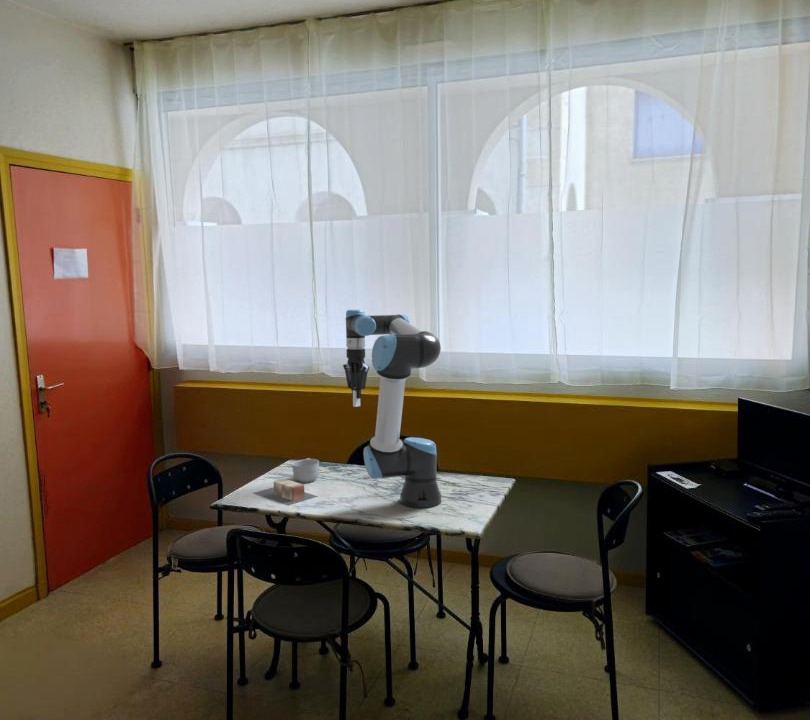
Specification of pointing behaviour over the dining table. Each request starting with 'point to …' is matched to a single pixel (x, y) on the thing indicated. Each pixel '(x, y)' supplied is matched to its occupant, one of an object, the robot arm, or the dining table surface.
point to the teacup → (306, 470)
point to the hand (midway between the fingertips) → (356, 406)
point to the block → (289, 489)
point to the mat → (270, 495)
